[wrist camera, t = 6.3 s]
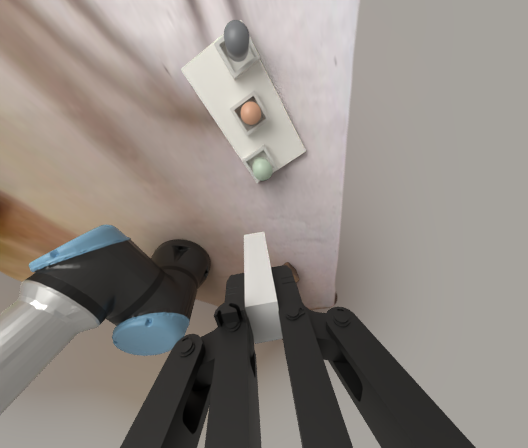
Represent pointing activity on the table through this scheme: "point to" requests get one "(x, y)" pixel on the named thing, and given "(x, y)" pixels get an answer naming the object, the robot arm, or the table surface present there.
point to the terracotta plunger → (250, 113)
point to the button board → (235, 96)
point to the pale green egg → (262, 168)
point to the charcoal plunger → (236, 40)
